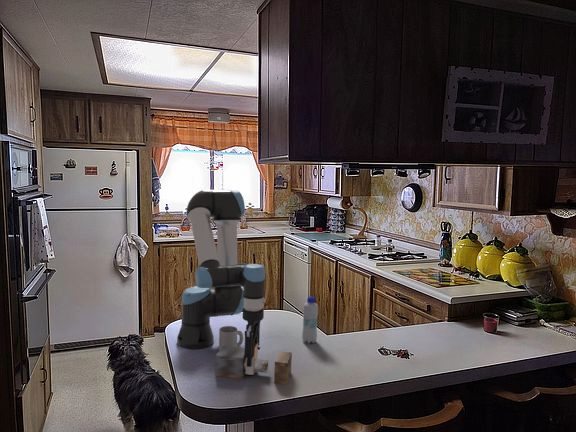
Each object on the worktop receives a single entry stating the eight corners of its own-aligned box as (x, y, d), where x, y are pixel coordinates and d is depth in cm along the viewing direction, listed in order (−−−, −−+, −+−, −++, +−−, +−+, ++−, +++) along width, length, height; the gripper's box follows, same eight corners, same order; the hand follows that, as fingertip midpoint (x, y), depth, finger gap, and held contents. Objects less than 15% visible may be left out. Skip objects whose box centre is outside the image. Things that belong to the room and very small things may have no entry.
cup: (217, 347, 178) (217, 327, 177) (241, 345, 181) (241, 324, 180) (220, 355, 171) (221, 333, 170) (245, 352, 174) (246, 330, 173)
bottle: (317, 339, 191) (319, 295, 189) (316, 345, 184) (318, 299, 182) (302, 338, 191) (303, 294, 189) (301, 344, 185) (302, 298, 183)
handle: (217, 369, 156) (218, 343, 155) (221, 364, 160) (222, 338, 159) (266, 375, 153) (267, 348, 152) (269, 369, 157) (270, 343, 156)
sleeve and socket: (215, 375, 154) (215, 355, 153) (223, 364, 163) (223, 345, 162) (286, 384, 149) (287, 363, 149) (291, 372, 158) (291, 352, 157)
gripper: (257, 317, 144) (255, 383, 147) (269, 301, 162) (267, 361, 164) (235, 315, 145) (234, 381, 148) (249, 299, 163) (247, 359, 165)
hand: (251, 370), depth 156 cm, fingers closed on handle, 5 cm apart
